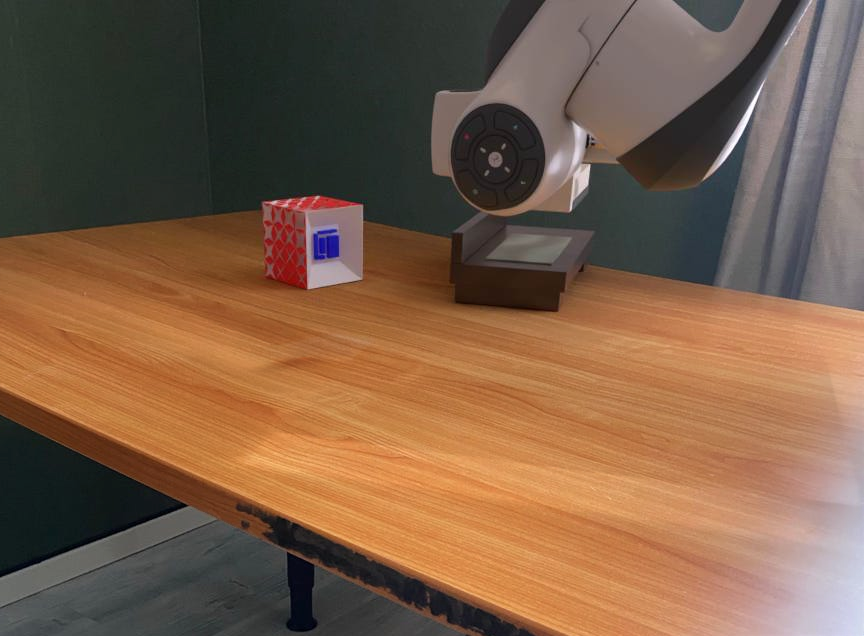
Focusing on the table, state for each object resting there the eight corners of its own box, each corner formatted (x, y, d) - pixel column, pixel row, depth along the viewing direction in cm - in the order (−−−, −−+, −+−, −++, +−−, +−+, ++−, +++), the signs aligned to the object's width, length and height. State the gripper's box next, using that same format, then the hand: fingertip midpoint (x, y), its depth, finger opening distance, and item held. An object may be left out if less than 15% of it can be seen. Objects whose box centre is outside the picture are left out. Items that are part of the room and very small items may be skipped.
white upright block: (570, 212, 94) (587, 66, 87) (518, 209, 95) (531, 64, 88) (588, 193, 105) (604, 61, 98) (541, 190, 106) (553, 60, 100)
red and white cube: (320, 267, 118) (318, 195, 114) (362, 279, 113) (363, 204, 109) (264, 277, 113) (261, 202, 109) (306, 289, 108) (304, 211, 104)
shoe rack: (591, 266, 121) (598, 203, 117) (562, 313, 101) (570, 240, 98) (494, 258, 124) (498, 197, 120) (448, 303, 104) (451, 232, 101)
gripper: (668, 100, 78) (676, 91, 89) (417, 90, 83) (455, 83, 94) (655, 187, 81) (665, 168, 93) (414, 173, 86) (451, 156, 97)
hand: (557, 125), depth 93 cm, fingers closed on white upright block, 5 cm apart
